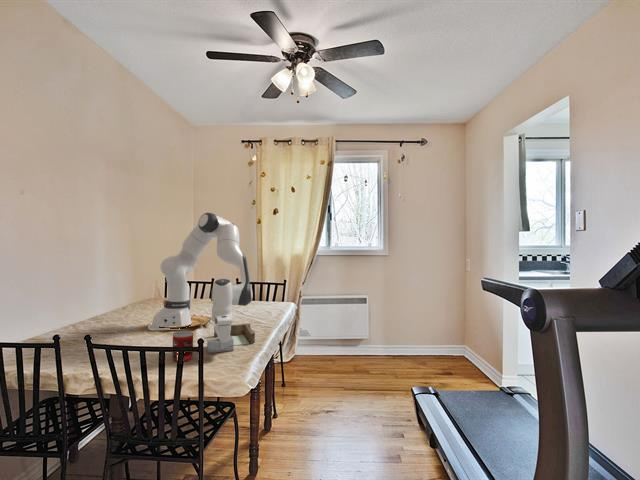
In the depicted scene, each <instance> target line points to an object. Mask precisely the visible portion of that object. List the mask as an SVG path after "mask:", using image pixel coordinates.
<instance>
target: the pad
mask: <svg viewBox="0 0 640 480" xmlns="http://www.w3.org/2000/svg"><path fill="white" fill-rule="evenodd" d="M231 336H232V338H233V339H234V342H233V347H234V346H242V345H244V346H245V345H250V342H249V340H248V339H247V337H246V336H245V335H244V334H242V335H231ZM216 339H218V337H216Z"/></svg>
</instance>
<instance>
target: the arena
mask: <svg viewBox="0 0 640 480" xmlns="http://www.w3.org/2000/svg"><path fill="white" fill-rule="evenodd" d="M213 332H214V333H213V336H214V338H218V336H217V334H216V331H215V325H214V328H213ZM230 335H231V336H240V335H244V337H245V338H246V340H247V341H248V342H249V344H251V345H254V344H253V343H256V342H255V339H256V333H255V332H254V331H253V329H252V328H251V323H241V324H231V331H230Z"/></svg>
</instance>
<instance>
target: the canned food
mask: <svg viewBox="0 0 640 480" xmlns="http://www.w3.org/2000/svg"><path fill="white" fill-rule="evenodd" d="M173 347H193V348H194V332H193V331H192V330H176V331H175V332H173V333H172V348H173ZM193 352H194V351H193ZM193 352H185V353H184V362H183V363H185V362H190V361H191V360H192V359H193V357H194V356H193V355H194V353H193ZM177 355H178V353H177V352H173V351H172V360H173V361H174V362H175V363H178V362H177Z"/></svg>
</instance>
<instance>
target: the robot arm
mask: <svg viewBox="0 0 640 480" xmlns="http://www.w3.org/2000/svg"><path fill="white" fill-rule="evenodd" d="M214 238H216V239H217V240H216V255H217V257H218V258H219V259H220V260H222V261H223V262H224V263H227V264H231V265H233V266H235V267H237V268H238V269H239V273H240V280H241V282H240V283H239V284H236V283H235V284H232V281H231V280H230V279H227V278H219V279H216V280H215V281H214V282H213V286H212V288H211V291H210V301H211V303H212V307H211V321H212V322H213V323H214V326H215V331H216V334H217V336H218V337H217V338H218V339H219V340H220V348H221V349H224V348H225V343H228V342H229V340H230V331H231V325H233V306H243V307H246V306H248V305H249V304H251V302H252V301H253V297H254V296H253V295H254V294H253V289H252V286H251V282H250V279H251V278H250V272H249V267H248V261H247V257H246V254H245V253H243V252H242V251H241V248H240V231H239V228H238V226H236V224H235V223H233V222H231V221H229V220H227V219H225V218H224V217H221V216H218V215H216V214H214V213H212V212H205V213H203V214H202V215H201V216H200V218H199V220H198V223H197V225H196V226H195V227H194V228H193V229H192V230H191V232H189V234H188V236H186V238H185V239H184V241H183V242H182V247H181V250H180V252H179V253H178V254H177V255H171V256H168V257H167V258H164V260H162V262H161V263H160V271H161V273H162V274H163V276H164V277H165V280H166V283H167V300H166V299H164V300H163V301H162V304H163V308H162V309H160V310H159V311H157V312H156V313H155V314H154V316H153V317H152V321H151V323H152V326H151V325H150V323H149V324H148V325H147V330H149V331H153V332H154V331H181V329H180V328H179V329H170V328H159V326H162V327H169V326H185V325H189V324H191V323H192V324H193V322H192V319H191V299H190V285H189V283H188V281H187V278H186V274H189V273H191V272H193V271H194V270H195V268H196V266H197V262H198V261H199V257H200V256H201V254H202V253H203V252H204V250H205V249H206V247H207V246H208V245H209V243H210V242H211V241H212V239H214Z"/></svg>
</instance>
